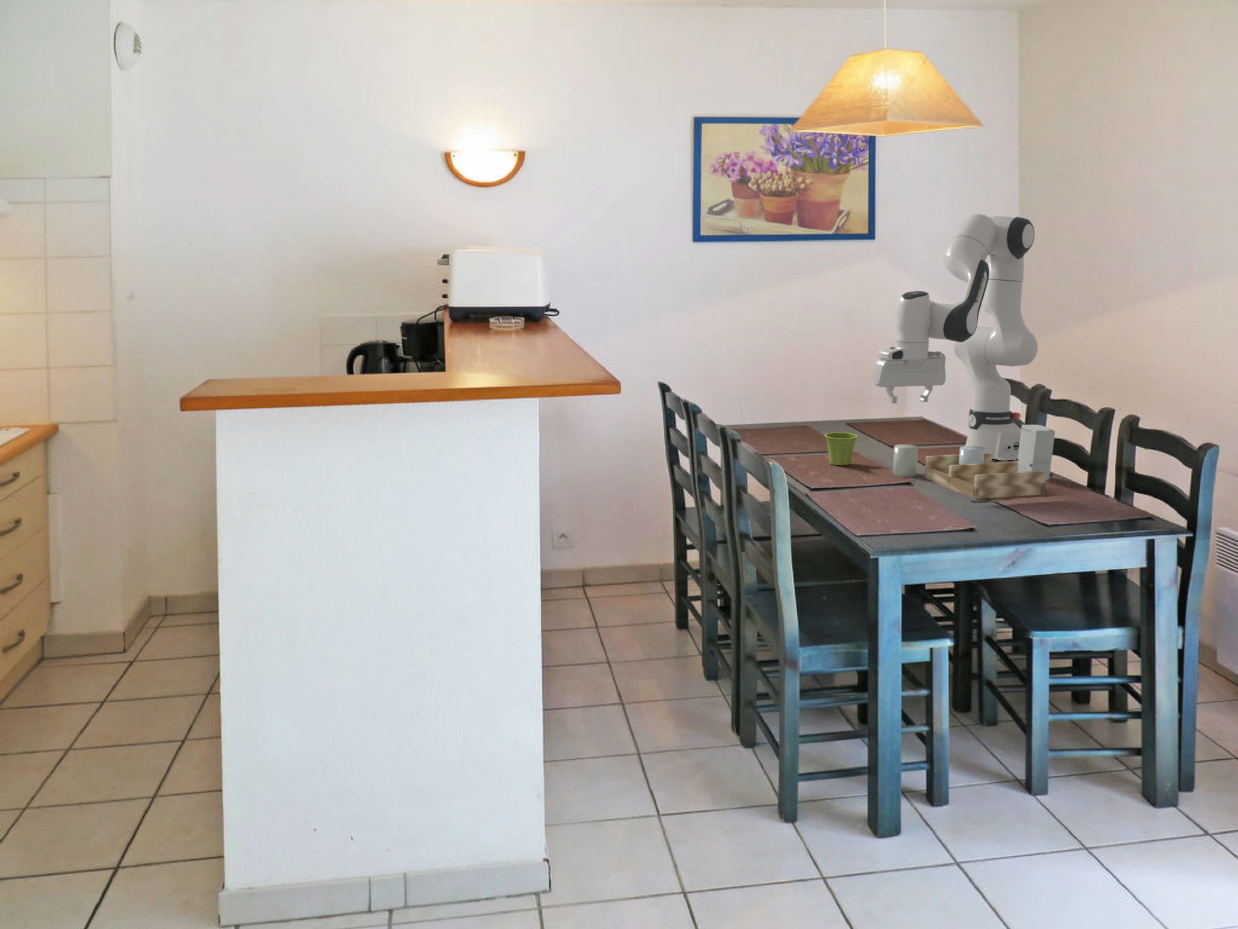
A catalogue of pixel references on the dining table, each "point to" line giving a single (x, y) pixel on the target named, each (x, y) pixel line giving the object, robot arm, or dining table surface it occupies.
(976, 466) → the rack
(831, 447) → the plant pot
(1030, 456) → the skincare box
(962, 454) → the pale blue-grey rounded dome
